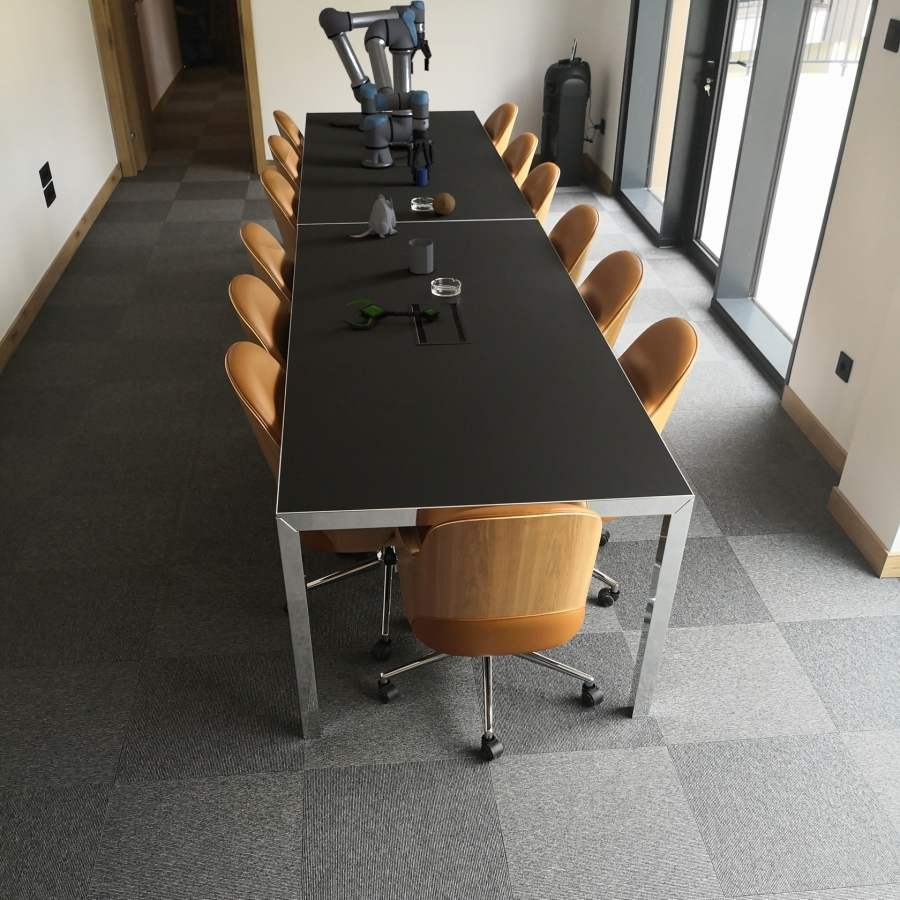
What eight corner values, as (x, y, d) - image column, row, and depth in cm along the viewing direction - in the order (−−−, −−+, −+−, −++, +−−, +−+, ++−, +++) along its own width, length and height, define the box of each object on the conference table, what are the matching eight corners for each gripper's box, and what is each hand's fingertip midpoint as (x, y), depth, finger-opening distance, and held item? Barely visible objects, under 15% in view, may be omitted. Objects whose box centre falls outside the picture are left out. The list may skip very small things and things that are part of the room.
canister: (414, 185, 397) (414, 170, 393) (415, 182, 402) (415, 167, 398) (426, 186, 397) (426, 170, 393) (428, 182, 402) (427, 167, 398)
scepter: (439, 293, 272) (343, 290, 270) (440, 323, 265) (342, 321, 263) (438, 306, 277) (344, 304, 275) (439, 336, 270) (342, 334, 268)
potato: (453, 208, 369) (453, 189, 365) (456, 218, 357) (456, 199, 353) (431, 208, 368) (430, 189, 364) (432, 218, 356) (432, 199, 352)
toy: (402, 233, 342) (401, 194, 333) (358, 248, 327) (355, 208, 319) (387, 227, 347) (385, 190, 339) (342, 242, 332) (339, 203, 324)
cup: (409, 265, 311) (408, 238, 306) (432, 265, 312) (431, 238, 307) (410, 274, 304) (409, 246, 299) (433, 273, 305) (433, 246, 299)
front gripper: (406, 132, 379) (408, 185, 392) (442, 127, 388) (442, 179, 400) (398, 129, 384) (399, 181, 397) (433, 124, 393) (433, 175, 405)
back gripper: (408, 34, 476) (409, 75, 488) (437, 29, 492) (437, 70, 504) (398, 33, 480) (399, 74, 492) (427, 28, 496) (428, 68, 508)
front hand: (421, 180), depth 398 cm, fingers closed on canister, 6 cm apart
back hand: (418, 72), depth 498 cm, fingers open, 13 cm apart
